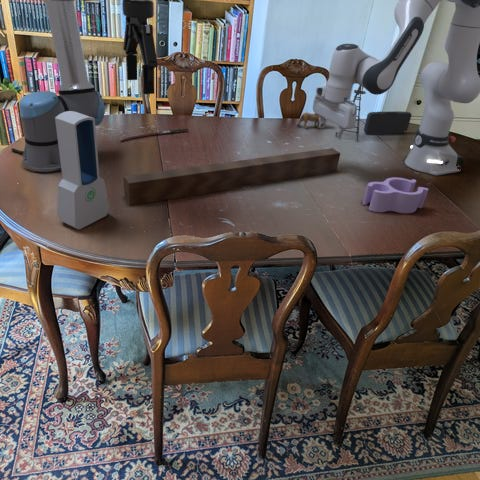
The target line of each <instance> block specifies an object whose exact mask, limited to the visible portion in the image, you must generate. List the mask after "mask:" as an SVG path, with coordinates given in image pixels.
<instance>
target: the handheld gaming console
mask: <svg viewBox="0 0 480 480" xmlns="http://www.w3.org/2000/svg"><path fill="white" fill-rule="evenodd" d="M412 116H413V115H412V112H410V111H401V110H399V111H398V110H397V111H394V110H393V111H370V112H368V113H367V115H366V119H365V123H364V127H363V132H364V133H365V134H366V135H392V134H394V135H395V134H405V133H406V132H407V131H408V129H409V126H410V121H411V119H412ZM404 131H406V132H404Z"/></svg>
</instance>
